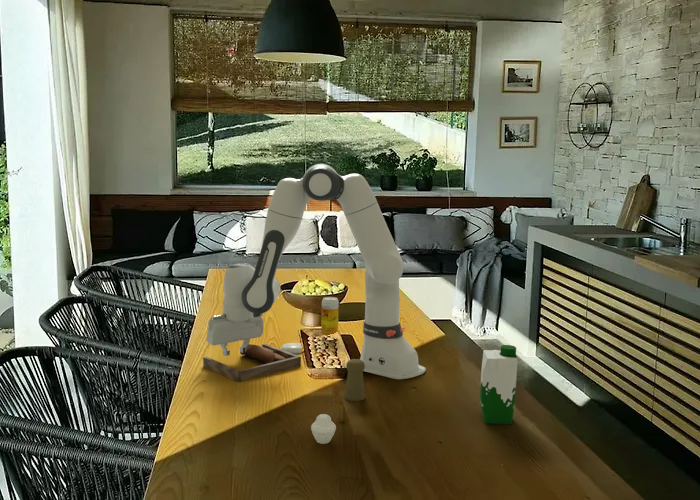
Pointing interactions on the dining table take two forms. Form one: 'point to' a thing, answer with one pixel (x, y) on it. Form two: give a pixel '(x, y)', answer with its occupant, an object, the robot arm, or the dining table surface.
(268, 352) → the sunglasses case
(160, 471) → the dining table surface
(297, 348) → the ring dish
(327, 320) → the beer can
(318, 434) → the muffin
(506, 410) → the milk carton
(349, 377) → the pepper mill
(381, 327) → the robot arm
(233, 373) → the open wooden frame
